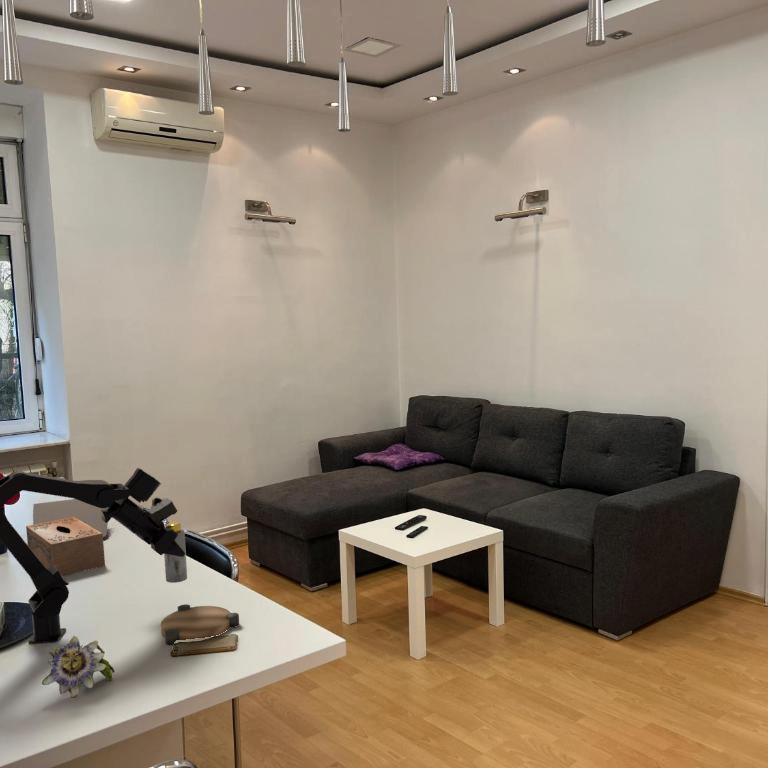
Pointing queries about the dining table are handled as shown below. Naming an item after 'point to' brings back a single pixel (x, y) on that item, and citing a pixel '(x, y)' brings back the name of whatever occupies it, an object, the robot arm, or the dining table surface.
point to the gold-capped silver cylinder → (176, 558)
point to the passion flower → (77, 666)
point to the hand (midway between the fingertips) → (180, 552)
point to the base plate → (197, 622)
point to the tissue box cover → (67, 545)
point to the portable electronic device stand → (70, 513)
